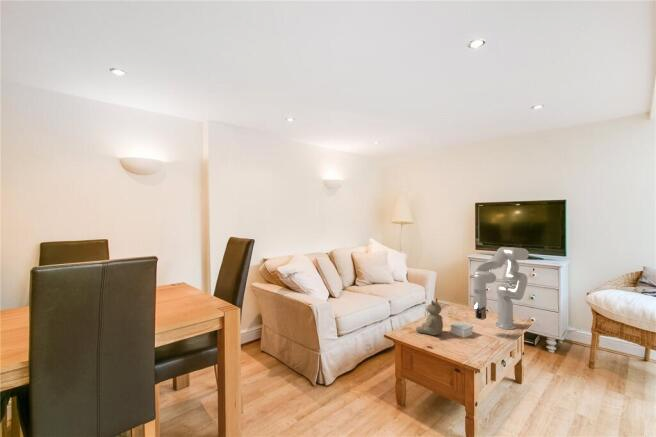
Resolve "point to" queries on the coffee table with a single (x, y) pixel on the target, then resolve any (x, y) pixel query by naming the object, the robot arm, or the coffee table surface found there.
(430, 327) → the grey cat statue
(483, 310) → the walnut block
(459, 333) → the pale grey box
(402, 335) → the coffee table surface
